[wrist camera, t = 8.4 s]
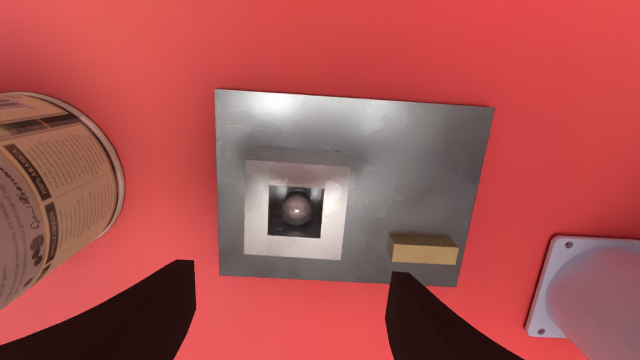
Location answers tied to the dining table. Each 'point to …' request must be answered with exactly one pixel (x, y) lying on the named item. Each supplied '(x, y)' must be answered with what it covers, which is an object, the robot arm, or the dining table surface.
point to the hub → (267, 223)
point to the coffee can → (51, 187)
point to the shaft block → (358, 182)
